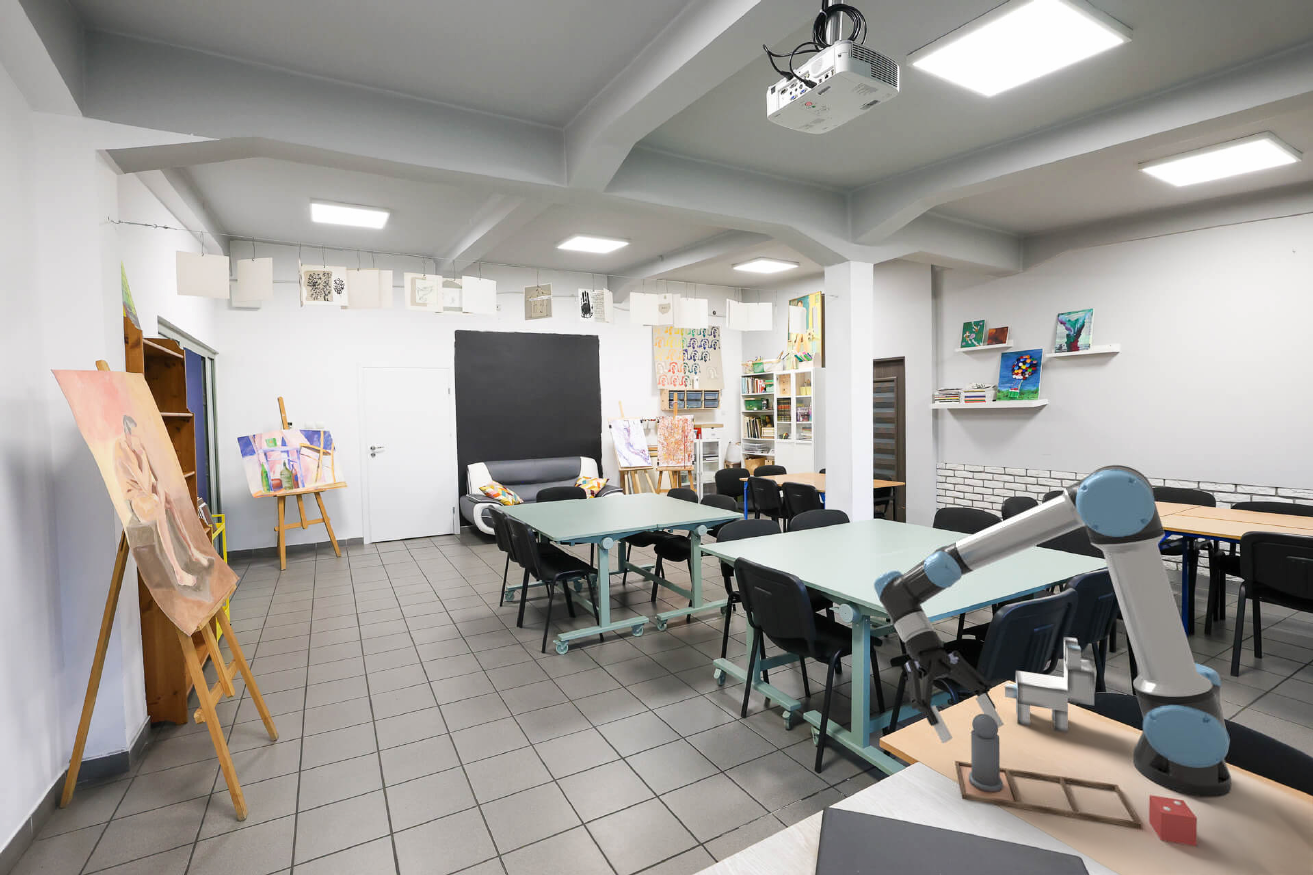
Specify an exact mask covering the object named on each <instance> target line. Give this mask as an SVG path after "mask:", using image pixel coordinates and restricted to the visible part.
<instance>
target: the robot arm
mask: <svg viewBox="0 0 1313 875" xmlns="http://www.w3.org/2000/svg"><path fill="white" fill-rule="evenodd" d="M1154 492H1155V491H1154V489H1153V486H1152V484H1151V482H1150V481H1149V480H1148V478H1147V477H1146V476H1145V475H1144V474H1143V473H1142V472H1140V471H1139V470H1137V469H1135V468H1132V467H1131V466H1125V465H1119V464H1113V465H1105V466H1103V467H1099V468H1097V469H1096V470H1093V471H1092V472H1091V473H1090V474H1089V475H1087V476H1085V477H1084V478H1082V479H1080V480H1079V481H1077V482H1075V483H1073V484H1070V485H1069V486H1066V487H1064V489H1063V493H1062V494H1061V495H1058V496H1056V497H1054V498H1052V499H1049V500H1047V501H1045V502H1043V503H1040V504H1038V505H1036V506H1034V507H1032V508H1028V509H1026V510H1025V511H1023V512H1020V513H1018V514H1016V515H1013V516H1011V517H1008V518H1007V519H1005V520H1003V521H1000V522H998V523H997V522H996V524H993V525H991V526H989V527H986V528H984V529H982V530H980V531H978V532H975V533H973V534H971V535H969V536H967V537H966V536H965V537H964V538H962V539H960V540H957V541H956V542H953V543H950V544H949V545H944V546H941V547H939V548H937V549H936V550H934V552H933V553H932V554H930V555H929V556H928V557H926V558H925V559H923V560H922V561H920V563H918V564H915V566H913V567H912V568H911V569H909V570H908V571H907V572H904V574H902V572H901V571H899V570H891V571H888V572H886V573H883V574H881V575H880V576H879V577H877V578H876V579H875V581H874V582H873V589H874V591H875V593H876V595H877V597H878V600H879V602H880V603H881V604H882V606H883V608H884V610H885V611H886V613H887V615H888V617H889V619H890V620H891V622H892V625H893V626H894V628H895V630H896V632H897V634H898V636H899V637H900V639H901V641H902V642H903V643H904V647H905V649H906V650H907V652H908V654H909V657H910V658H911V659H909V660H908V661H907V662H906V663H904V665H903V667H904V669H905V672H906V674H907V680H908V681H907V682H908V683H907V684H908V689H909V690H908V692H909V693H908V694H909V700H910V707H911V709H912V710H916V709H917V710H918V712H920V713H922V712H923V714H924V716H925V718H926V720H927V722H928V724H929V725H930V727H933V728H934V730H935V732H936V734H937V736H938V738H939V739H940V741H941V743H942V744H946V743H947V742H949V741H951V740H952V739H953V736H952V734H951V732H950V730H949V728H948V727H947V725H946V723H945V721H944V719H943V717H942V715H941V714H940V712H939V710H938V708H937V707H936V705H932V697H933V688H934V680H935V681H937V680H938V679H944V678H948V679H951V680H953V681H955V682H956V683H958V684H959V685H960V686H962V687H963V688H965V689H966V690H968V691H969V692H971V693H973V695H975V696H977V697H976V698H975V700H976V703H977V704H978V706H979V707H980V710H981V711H982V712H983V713H982V714H987V715H989V716H991V717H992V718H993V719H994V720H995V721H996V723H997V725H998V729H999V728H1000V727H1002V726H1003V725H1004V722H1003V721H1002V719H1001V717H1000V715H999V714H998V712H997V710H996V705H995V703H994V701H993V700H992V698H991V696H990V695H989V692H990V691H991V689H992V688H993V685H992V684H991V682H989V681H988V679H986V678H985V677H984V676H983V675H982V674H981V673H979V672H978V671H977V670H976V669H975V668H974V667H973V666H972V665H970V664H969V663H968V661H967V660H965V659H964V657H963V656H962V655H961V653H960V651H958V650H957V649H956V650H954V651H952V652H951V653H949V654H948V653H947V652H946V651H945V650H944V644H943V643H944V642H942V640H941V638H940V636H939V635H938V634H937V632H936V631H935V630H934V626H933V625H932V623H931V621H930V619H929V618H928V616H927V615H926V613H925V611H924V610H923V607H922V604H924V603H925V602H927V601H929V600H930V599H932V598H933V597H935V596H936V595H939V593H941V592H943V591H945V590H946V589H948V588H951V587H952V586H953V585H954V584H956V583H957V582H958V581H959V580H961V579H962V577H963V576H964V575H967V574H969V573H971V572H973V571H975V570H978V569H980V568H983V567H986V566H987V565H991V564H993V563H995V562H998V561H1001V560H1002V559H1005V558H1008V557H1010V556H1012V555H1016V554H1017V553H1020V552H1022V551H1025V550H1028V549H1030V548H1032V547H1035V546H1037V545H1040V544H1042V543H1045V542H1048V541H1049V540H1053V539H1054V538H1057V537H1060V536H1062V535H1065V534H1067V533H1069V532H1071V531H1074V530H1077V529H1079V528H1082V527H1085V528H1086V532H1087V535H1088V537H1089V538H1088V539H1089V541H1090V545H1092V546H1094V548H1098V549H1100V550H1101V552H1102V553H1103V556H1104V560H1105V563H1106V566H1107V570H1108V573H1109V576H1110V579H1111V583H1112V586H1113V590H1114V592H1115V595H1116V599H1117V602H1118V606H1119V608H1120V612H1121V615H1122V619H1123V622H1124V625H1125V630H1126V632H1127V635H1128V638H1129V643H1130V645H1131V648H1132V653H1133V654H1134V655H1133V656H1134V659H1135V662H1136V665H1137V668H1138V673H1139V674H1138V675H1137V676H1136V678H1135V679H1134V680H1133V682H1132V683H1133V687H1134V691H1135V694H1136V695H1135V696H1136V698H1137V701H1138V705H1139V708H1140V711H1141V715H1142V719H1143V720H1142V732H1141V735H1140V736H1139V738H1138V741H1137V743H1136V746H1135V748H1134V749H1133V764H1134V767H1135V768H1136V770H1137V771H1139V773H1141V774H1142V775H1143V776H1145V777H1146V778H1147V779H1149V780H1150V781H1153V782H1154V783H1157V784H1158V785H1161V786H1164V787H1165V788H1168V789H1171V790H1172V791H1173V790H1174V791H1176V792H1179V793H1183V794H1186V795H1187V794H1188V795H1191V796H1197V797H1205V798H1219V797H1222V796H1226V795H1227V794H1229V793H1230V792H1231V791H1232V777H1231V776H1232V775H1231V773H1230V771H1229V768H1228V766H1227V763H1226V760H1225V758H1226V756H1227V755H1228V753H1229V747H1230V744H1231V738H1230V734H1229V732H1228V731H1227V728H1226V723H1225V719H1224V714H1223V709H1222V705H1221V687H1222V683H1221V677H1220V674H1219V672H1217V671H1216V670H1215V669H1213V668H1210V667H1208V666H1206V665H1202V664H1199V663H1197V662H1195V660H1194V656H1193V653H1192V650H1191V648H1190V645H1189V640H1188V637H1187V634H1186V632H1185V628H1184V625H1183V621H1182V618H1181V616H1180V612H1179V608H1178V606H1177V605H1178V604H1177V603H1176V599H1175V597H1174V596H1175V595H1174V593H1173V589H1172V586H1171V583H1170V579H1169V577H1168V573H1167V570H1166V566H1165V564H1164V561H1163V557H1162V554H1161V551H1160V547H1159V543H1160V542H1161V541H1162V540H1163V538H1164V537H1165V536H1166V534H1165V533H1166V532H1165V530H1164V527H1163V524H1162V520H1161V518H1160V513H1159V511H1158V509H1157V504H1156V500H1155V496H1154ZM919 671H921V673H922V674H921V682H920V673H919Z"/></svg>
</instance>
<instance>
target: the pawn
mask: <svg viewBox="0 0 1313 875" xmlns="http://www.w3.org/2000/svg"><path fill="white" fill-rule="evenodd" d="M971 723H972V724H971V725H972V730H971V732H970V734H971V735H970V736H971V737H970V740H971V741H970V742H971V746H970V748H971V749H970V750H971V756H970V757H971V762H970V763H971V764H972V771H971V772H970V773H969V782H970V784H971V785H972V786H974V787H975V788H977V789H979V790H981V791H985V792H990V793H995V792H999V791H1001V790H1002V788H1003V782H1002V780H1001V778H1000V764H1001V763H1000V762H1001V761H1000V760H1001V759H1000V758H1001V757H1000V736H999V734H998V732H999V728H998V725H997V723H996V721H995V720H994V719H993V718H992V717H991V716H989V715H987V714H984V713H979V714H977V715H975V716H974V717H973V719H972V721H971Z"/></svg>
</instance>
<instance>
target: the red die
mask: <svg viewBox="0 0 1313 875" xmlns="http://www.w3.org/2000/svg"><path fill="white" fill-rule="evenodd" d="M1148 800H1149V802H1148V804H1149V807H1148V809H1149V810H1148V811H1149V813H1148V814H1149V815H1148V816H1149V817H1148V821H1149V824H1150V825H1151V827H1152V828H1153V830H1154V831H1155V834H1156V835H1157V836H1158V838H1159V839H1160V841H1163V842H1164V841H1165V842H1171V843H1175V844H1181V845H1188V846H1193V847H1197V840H1198V838H1197V836H1198V835H1197V833H1198V831H1197V828H1198V827H1197V826H1198V820H1197V819H1198V818H1197V816H1196V815H1195V814H1194V812H1193V811H1192V809H1191V808H1190V807H1189V805H1188V804H1187V803H1186V802H1185V801H1184V799H1176V798H1171V797H1165V796H1159V795H1158V796H1157V795H1151V794H1149V798H1148Z"/></svg>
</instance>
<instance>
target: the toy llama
mask: <svg viewBox="0 0 1313 875" xmlns="http://www.w3.org/2000/svg"><path fill="white" fill-rule="evenodd" d="M1004 696H1005V698H1007V699H1008V698H1010V699H1015V711H1016V712H1015V714H1016V721H1017V725H1023V726H1027V727H1030V726H1031V707H1036V708H1042V709H1048V710H1051V719H1052V720H1051V721H1053V727H1054V731H1055V732H1060V733H1065V734H1066V733H1067V734H1068V732H1069V704H1068V703H1076V704H1081V705H1088V706H1095V672H1094V669H1093V666H1092V665H1091V662H1090V660H1087V659H1082V649H1081V646H1080V645H1079V641H1078V639H1077V638H1076V637H1068V636H1063V677H1062V676H1058V675H1057V676H1056V675H1048V674H1043V673H1042V674H1041V673H1037V672H1035V673H1034V672H1028V671H1021V670H1015V683H1008V682H1004Z"/></svg>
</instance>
